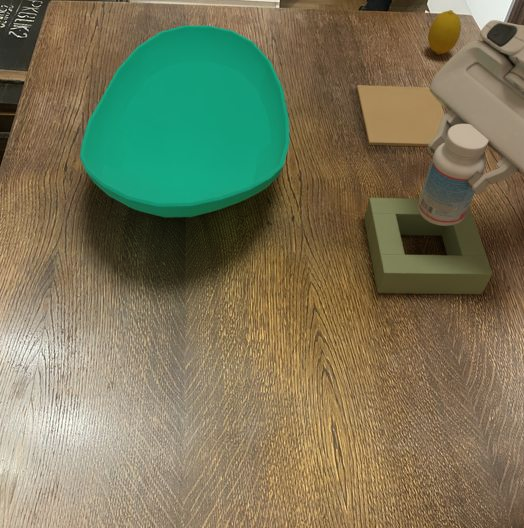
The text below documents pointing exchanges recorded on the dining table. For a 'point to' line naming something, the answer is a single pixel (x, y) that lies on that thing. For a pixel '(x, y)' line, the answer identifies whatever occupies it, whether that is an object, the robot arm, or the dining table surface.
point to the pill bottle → (452, 176)
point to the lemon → (444, 32)
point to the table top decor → (188, 124)
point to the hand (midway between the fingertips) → (451, 170)
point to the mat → (399, 115)
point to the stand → (423, 266)
